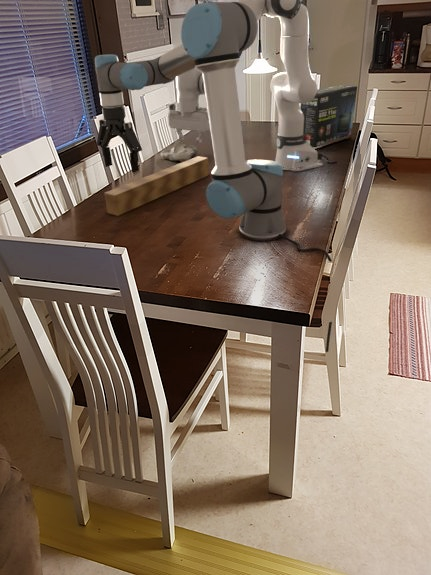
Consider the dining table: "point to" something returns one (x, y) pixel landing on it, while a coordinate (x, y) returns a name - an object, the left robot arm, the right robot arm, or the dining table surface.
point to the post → (155, 185)
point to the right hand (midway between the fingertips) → (190, 141)
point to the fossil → (179, 152)
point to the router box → (329, 114)
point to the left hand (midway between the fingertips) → (121, 168)
